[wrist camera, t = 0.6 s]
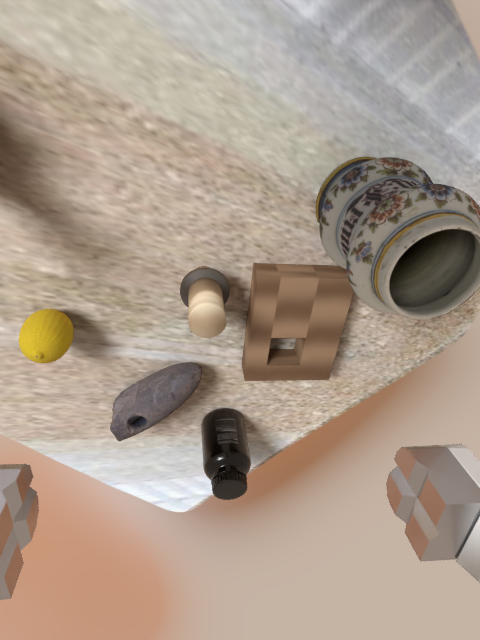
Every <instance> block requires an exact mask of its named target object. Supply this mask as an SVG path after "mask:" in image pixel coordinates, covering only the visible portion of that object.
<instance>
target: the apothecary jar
mask: <svg viewBox="0 0 480 640" xmlns="http://www.w3.org/2000/svg"><path fill="white" fill-rule="evenodd" d="M316 216H317V221H318V222H320V237H321V241H322V244H323V247H324V249H325V251H326V253H327V254H328V255H329V257H330V258H331V259H332V260H333V261H334V262H335V263H336V264H338V265H339V266H341V267H343V268H345V269H347V275H348V279H349V282H350V285H351V287H352V289H353V291H354V292H355V294H356V295H357V296H358V297H359V299H360V300H362V301H363V302H364V303H365V304H366V305H368V306H369V307H371V308H373V309H375V310H377V311H380V312H383V313H387V314H393V315H402V316H404V317H407V318H411V319H431V318H435V317H438V316H441V315H444V314H446V313H448V312H450V311H452V310H454V309H456V308H457V307H459V306H460V305H461V304H463V303H464V302H465V301H467V300H468V299H469V298H470V297H471V296H472V295H473V294H474V293H475V292H476V291H477V290H478V289H479V287H480V207H479V205H478V204H477V203H476V202H475V201H474V200H473V199H472V198H471V197H470V196H469V195H467V194H466V193H464V192H463V191H461V190H459V189H457V188H454V187H451V186H447V185H442V184H433V182H432V181H431V179H430V177H429V176H428V175H427V174H426V173H425V171H424V170H422V169H421V168H420V167H419V166H417V165H416V164H414V163H412V162H410V161H407V160H403V159H399V158H389V157H388V158H378V159H377V158H373V157H359V158H355V159H352V160H349V161H347V162H345V163H343V164H342V165H340V166H339V167H337V168H336V169H335V170H334V171H333V172H332V173H331V174H330V175H329V176H328V177H327V178H326V180H325V181H324V183H323V185H322V186H321V188H320V191H319V193H318V196H317V201H316Z"/></svg>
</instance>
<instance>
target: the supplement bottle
mask: <svg viewBox="0 0 480 640" xmlns="http://www.w3.org/2000/svg"><path fill="white" fill-rule="evenodd" d="M201 430H202V449H203V466H204V472H205V474H206V476H207V477H208V478H209V479H210V480H211V484H212V491H213V494H214V496H216V497H217V498H219V499H223V500H231V499H236V498H238V497H240V496H242V495H243V494H244V493H245V492H246V490H247V477H246V475H247V473H248V472H249V469H250V466H251V461H250V455H249V449H248V443H247V437H246V431H245V425H244V420H243V418H242V416H241V415H240V414H239V413H238V412H237V411H235V410H232V409H226V408H223V409H217V410H214V411H212V412H210V413H208V414H207V415H206V416H205V417H204V419H203V421H202V424H201Z"/></svg>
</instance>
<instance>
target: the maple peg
mask: <svg viewBox="0 0 480 640" xmlns="http://www.w3.org/2000/svg"><path fill="white" fill-rule="evenodd" d="M180 295H181V298H182V301H183V302H184V304H185V305H186V306H187V307H188V308H189V327H190V329H191V331H192V332H193V333H194V334H196V335H197V336H200V337H204V338H210V337H214V336H217V335H219V334H220V333H221V332H222V331H223V330H224V329H225V326H226V316H225V309H224V304H225V303H226V301H227V299H228V297H229V285H228V282H227V279H226V278H225V277H224V275H223V274H221V273H220V272H219V271H217V270H215V269H211V268H209V267H206V266H201V267H198V268H197V269H195V270H193V271H191V272H190V273H188V274H187V275H186V276H185V277H184V279H183V281H182V283H181V287H180Z"/></svg>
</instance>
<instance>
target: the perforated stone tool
mask: <svg viewBox="0 0 480 640" xmlns="http://www.w3.org/2000/svg"><path fill="white" fill-rule="evenodd" d="M201 374H202V371H201V367H200V366H199V365H197V364H195V363H181V364H176V365H173V366H170V367H167V368H165V369H162V370H160V371H158V372H156V373H154V374H152V375H150V376H148V377H146V378H144V379H142V380H140V381H138V382H137V383H135V384H133V385H131V386H130V387H129V388H127V389H126V390H124V391H123V392H121V393H120V395H119V396H118V397H117V398H116V400H115V402H114V404H113V418H112V422H111V426H110V430H111V432H112V433H113V434H114V435H115V437H116V439H117V440H118V441H122V440H124V439H127V438H130V437H132V436H134V435H136V434H138V433H140V432H143V431H144V430H146V429H148V428H150V427H152V426H153V425H155V424H156V423H158V422H160V421H161V420H163V419H164V418H166V417H167V416H168V415H169V414H171V413H172V412H173V411H174V410H176V409H177V408H178V407H179V406H180V405H182V404H183V403H184V402H185V401H186V400H187V399H188V398H189V397H190V396H191V395H192V393H193V392H194V391H195V389H196V388H197V386H198V384H199V381H200V379H201V376H202V375H201Z"/></svg>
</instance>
